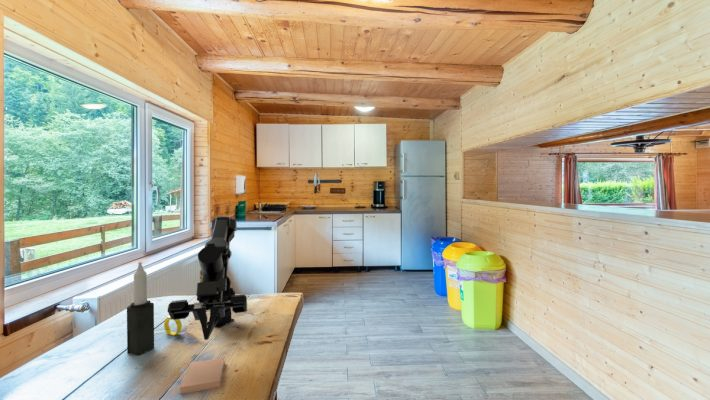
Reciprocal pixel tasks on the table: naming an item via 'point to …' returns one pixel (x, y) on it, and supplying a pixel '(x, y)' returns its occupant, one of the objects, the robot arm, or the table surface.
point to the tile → (203, 375)
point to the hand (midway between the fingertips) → (206, 339)
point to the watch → (167, 329)
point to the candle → (140, 317)
